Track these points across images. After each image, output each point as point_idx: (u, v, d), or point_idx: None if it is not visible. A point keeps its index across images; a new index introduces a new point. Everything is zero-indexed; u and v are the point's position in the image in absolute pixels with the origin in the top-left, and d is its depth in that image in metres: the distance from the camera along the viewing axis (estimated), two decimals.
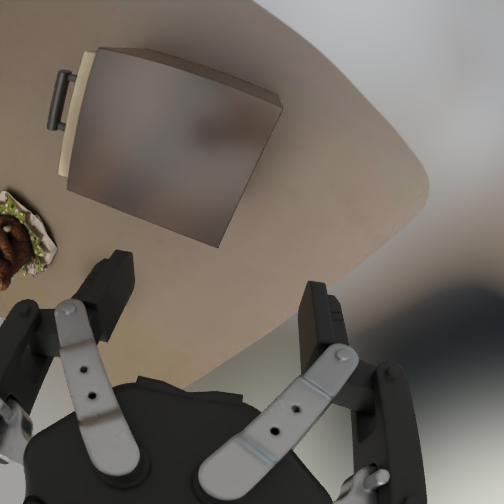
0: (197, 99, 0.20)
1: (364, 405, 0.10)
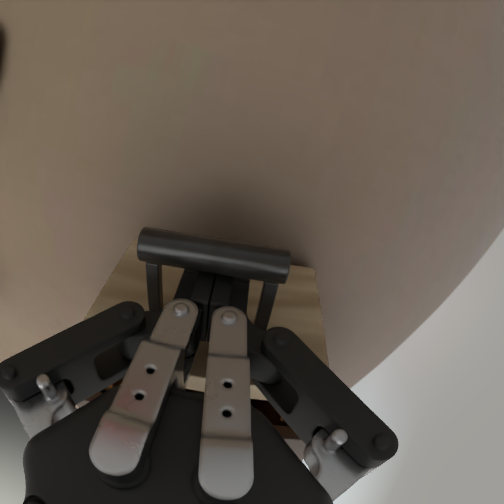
0: None
1: (258, 372, 0.11)
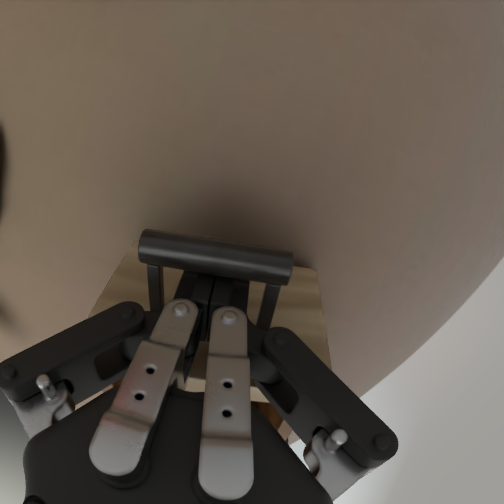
0: None
1: (258, 372, 0.11)
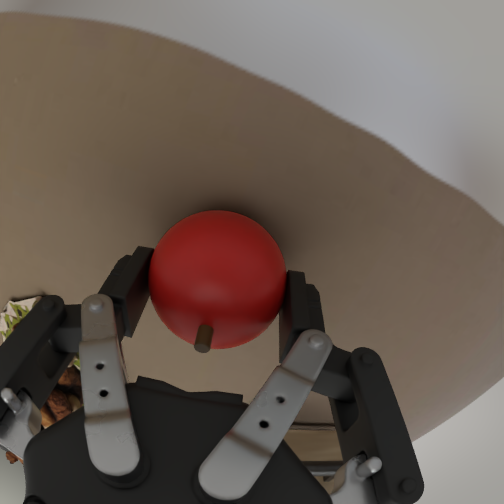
0: None
1: (340, 392, 0.10)
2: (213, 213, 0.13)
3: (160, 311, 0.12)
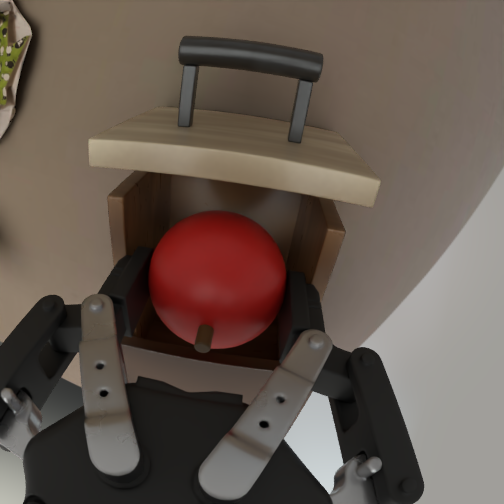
0: None
1: (340, 392, 0.10)
2: (213, 213, 0.13)
3: (160, 311, 0.12)
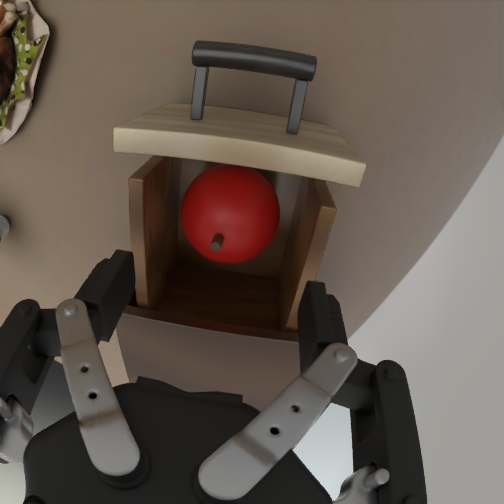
0: None
1: (363, 404, 0.10)
2: (229, 164, 0.18)
3: (187, 228, 0.18)
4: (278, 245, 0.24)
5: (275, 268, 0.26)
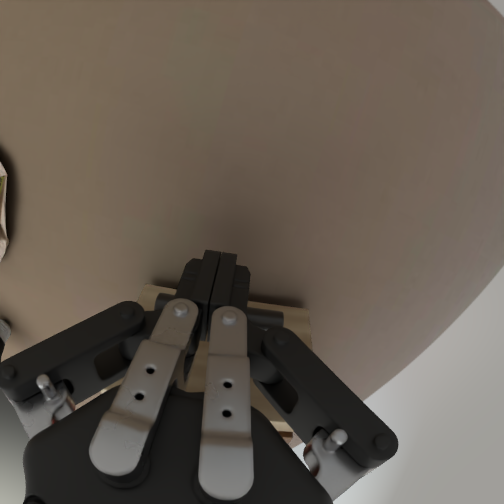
0: None
1: (258, 372, 0.11)
2: None
3: None
4: None
5: None
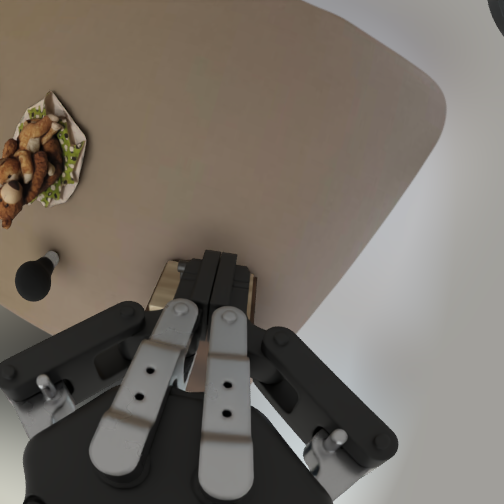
0: None
1: (258, 372, 0.11)
2: None
3: None
4: None
5: None
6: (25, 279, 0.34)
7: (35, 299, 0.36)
